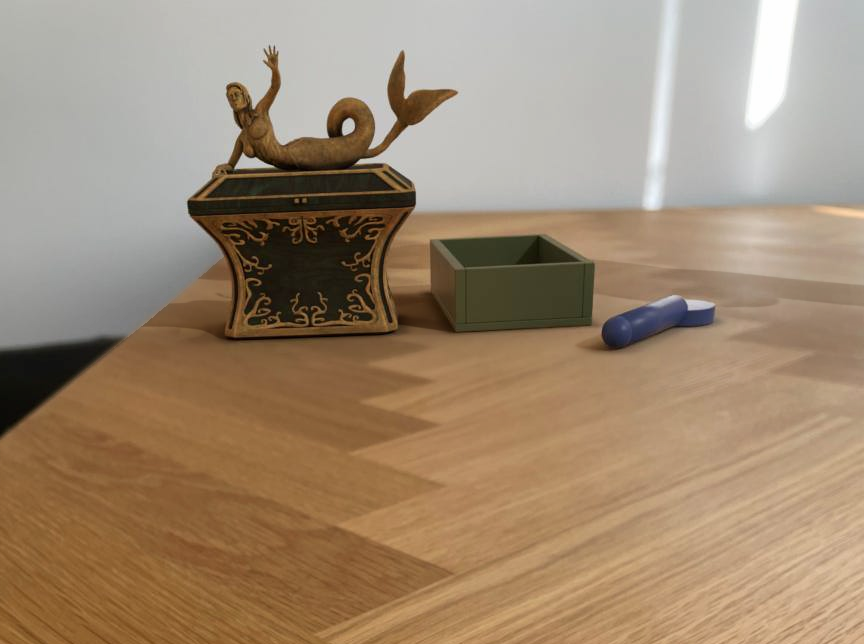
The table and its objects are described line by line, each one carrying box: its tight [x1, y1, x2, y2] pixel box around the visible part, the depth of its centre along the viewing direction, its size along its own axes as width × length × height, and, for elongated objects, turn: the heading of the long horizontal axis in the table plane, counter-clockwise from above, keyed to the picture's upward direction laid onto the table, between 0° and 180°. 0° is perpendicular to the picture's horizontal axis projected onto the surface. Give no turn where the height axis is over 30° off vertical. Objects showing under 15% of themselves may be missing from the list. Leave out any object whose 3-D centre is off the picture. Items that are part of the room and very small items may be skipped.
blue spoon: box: [600, 294, 716, 350], centre depth 77 cm, size 14×5×2 cm, turn 142°
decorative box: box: [186, 44, 459, 340], centre depth 79 cm, size 20×10×20 cm, turn 90°
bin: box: [429, 233, 596, 333], centre depth 88 cm, size 11×19×5 cm, turn 4°
